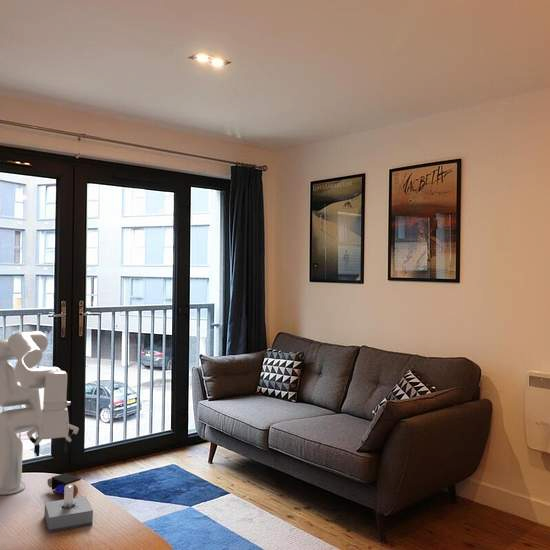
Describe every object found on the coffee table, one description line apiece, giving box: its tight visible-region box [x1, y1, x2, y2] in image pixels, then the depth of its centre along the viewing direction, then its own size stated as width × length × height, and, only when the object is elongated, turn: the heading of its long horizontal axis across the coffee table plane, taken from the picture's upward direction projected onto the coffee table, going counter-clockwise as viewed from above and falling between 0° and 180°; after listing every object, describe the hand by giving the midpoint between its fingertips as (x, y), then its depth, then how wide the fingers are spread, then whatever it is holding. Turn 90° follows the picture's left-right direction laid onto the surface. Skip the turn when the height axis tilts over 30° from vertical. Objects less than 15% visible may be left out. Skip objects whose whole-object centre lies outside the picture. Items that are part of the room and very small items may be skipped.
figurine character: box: [46, 472, 82, 498], centre depth 216 cm, size 7×8×15 cm
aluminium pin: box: [63, 484, 74, 509], centre depth 192 cm, size 3×3×11 cm
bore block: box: [43, 495, 94, 533], centre depth 192 cm, size 14×14×5 cm
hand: (52, 453), depth 195 cm, fingers open, 9 cm apart
